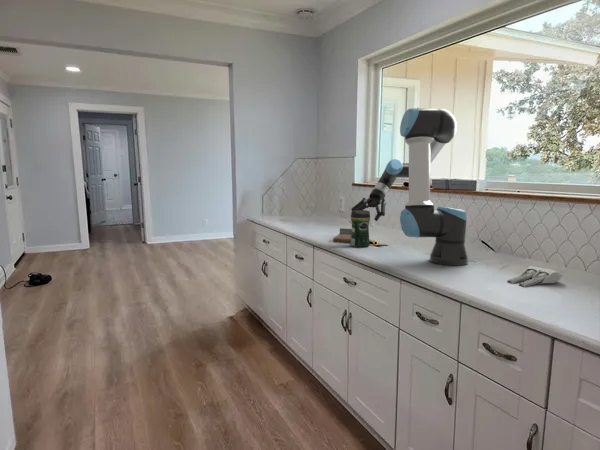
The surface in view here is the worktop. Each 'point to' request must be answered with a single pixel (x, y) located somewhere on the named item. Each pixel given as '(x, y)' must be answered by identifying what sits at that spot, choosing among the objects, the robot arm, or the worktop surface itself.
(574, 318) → the worktop surface
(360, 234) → the coffee jar
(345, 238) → the brown piece
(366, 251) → the worktop surface
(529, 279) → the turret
